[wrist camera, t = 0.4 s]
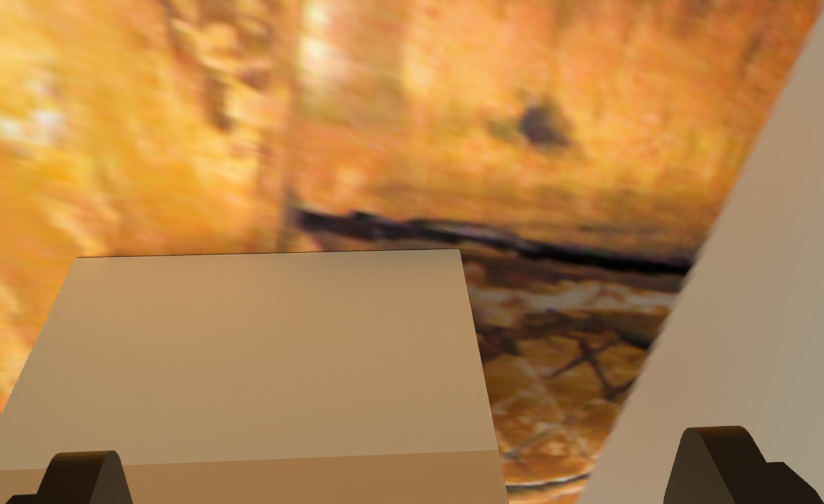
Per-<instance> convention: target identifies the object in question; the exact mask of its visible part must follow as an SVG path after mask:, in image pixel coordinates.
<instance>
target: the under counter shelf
mask: <svg viewBox="0 0 824 504" xmlns="http://www.w3.org/2000/svg"><path fill="white" fill-rule="evenodd" d="M108 450H114V451H116V452H117V453H118V455H119V457H120V460H121V463H122V467H123V470H124V474H125V477H126V481H127V484H128V488H129V491H130V495H131V498H132V501H133V504H509V501H508V496H507V491H506V486H505V480H504V475H503V470H502V465H501V460H500V455H499V450H498V445H497V439H496V434H495V429H494V424H493V419H492V414H491V409H490V404H489V399H488V393H487V388H486V383H485V378H484V373H483V368H482V363H481V358H480V352H479V347H478V342H477V337H476V332H475V327H474V322H473V317H472V311H471V306H470V301H469V296H468V291H467V286H466V281H465V276H464V271H463V265H462V260H461V255H460V250H459V249H440V250H397V251H354V252H312V253H269V254H226V255H184V256H141V257H99V258H75V260H74V262H73V264H72V267H71V269H70V271H69V273H68V275H67V277H66V279H65V281H64V283H63V285H62V288H61V290H60V292H59V294H58V296H57V298H56V300H55V302H54V304H53V307H52V309H51V311H50V313H49V315H48V317H47V319H46V321H45V323H44V325H43V328H42V330H41V332H40V334H39V336H38V338H37V340H36V342H35V344H34V347H33V349H32V351H31V353H30V355H29V357H28V359H27V361H26V363H25V365H24V368H23V370H22V372H21V374H20V376H19V378H18V380H17V382H16V384H15V387H14V389H13V391H12V393H11V395H10V397H9V399H8V401H7V403H6V405H5V408H4V410H3V412H2V414H1V416H0V504H5V503H6V502H7V501H8V500H9V499H10V498H11V497H12V496H13V495H24V494H36V493H37V491H38V489H39V486H40V484H41V481H42V479H43V477H44V474H45V472H46V470H47V467H48V465H49V463H50V461H51V460H52V458H53V457H54V456H55V455H56V454H57V453H61V452H84V451H108Z"/></svg>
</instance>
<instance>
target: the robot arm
mask: <svg viewBox="0 0 824 504" xmlns="http://www.w3.org/2000/svg"><path fill="white" fill-rule="evenodd" d="M5 504H133V501H132V498H131V495H130V491H129V488H128V484H127V481H126V477H125V474H124V470H123V467H122V463H121V460H120V457H119V455H118V453H117V452H116V451H114V450H108V451H84V452H61V453H57V454H56V455H55V456H54V457H53V458H52V460H51V461H50V463H49V465H48V467H47V470H46V472H45V474H44V477H43V479H42V481H41V484H40V486H39V489H38V491H37V493H36V494H24V495H13V496H12V497H11V498H10V499H9V500H8V501H7V502H6V503H5ZM663 504H824V503H823V501H822V500H821V498H820V496H819V495H818V493H817V492H816V490H814V489H813V488H812V487H811V486H810V485H809V484H808V483H807V482H805V481H804V480H803V479H802V478H801V477H800V476H798V475H797V474H796V473H795V472H794V471H793V470H792V469H790V468H789V467H788V466H787V465H786V464H785V463H784V462H769V463H767V462H766V460H765V459H764V457H763V455H762V454H761V452H760V450H759V449H758V447H757V445H756V444H755V442H754V440H753V438H752V437H751V435H750V434H749V432H748V431H747V430H746V429H745V428H743V427H741V426H719V427H695V428H687V429H686V430H685V431H684V433H683V435H682V437H681V440H680V444H679V447H678V451H677V454H676V458H675V461H674V464H673V468H672V471H671V475H670V478H669V481H668V485H667V488H666V492H665V496H664V502H663Z"/></svg>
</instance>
